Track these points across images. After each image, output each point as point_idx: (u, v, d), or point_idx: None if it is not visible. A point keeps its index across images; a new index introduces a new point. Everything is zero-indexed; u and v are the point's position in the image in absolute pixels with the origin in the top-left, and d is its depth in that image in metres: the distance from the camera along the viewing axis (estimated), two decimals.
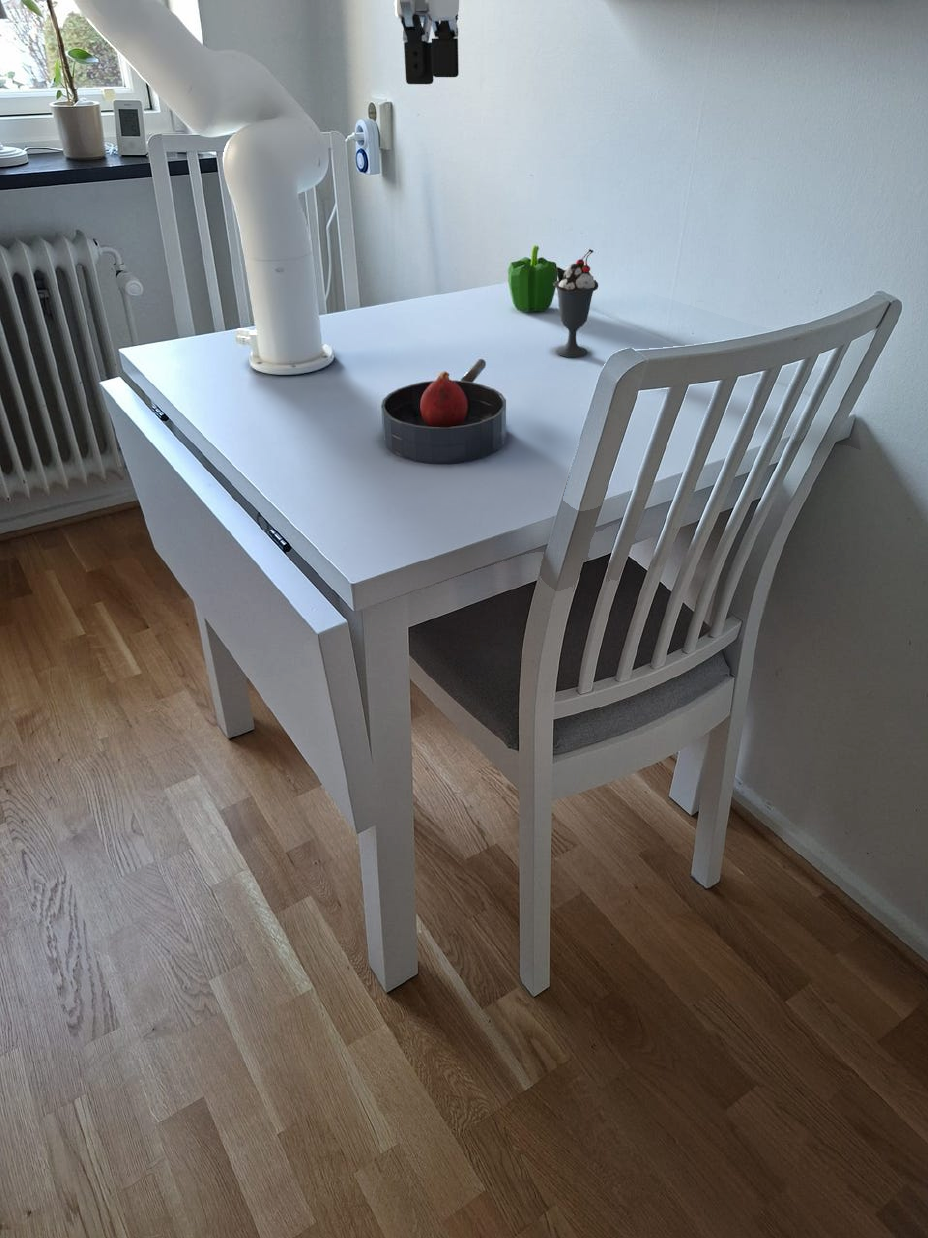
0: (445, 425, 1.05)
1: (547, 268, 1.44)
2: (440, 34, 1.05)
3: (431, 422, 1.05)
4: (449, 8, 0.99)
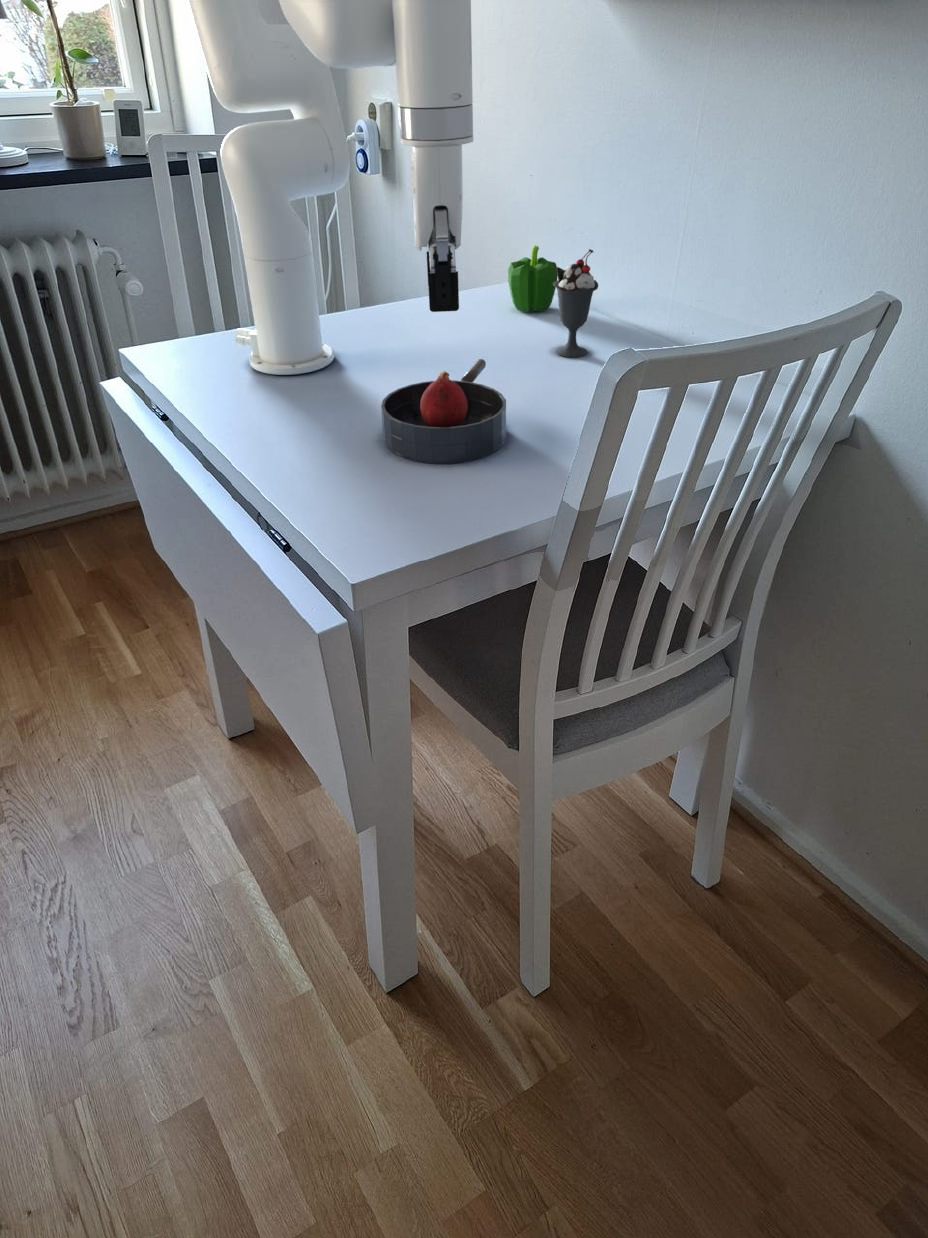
0: (445, 425, 1.05)
1: (547, 268, 1.44)
2: None
3: (431, 422, 1.05)
4: None
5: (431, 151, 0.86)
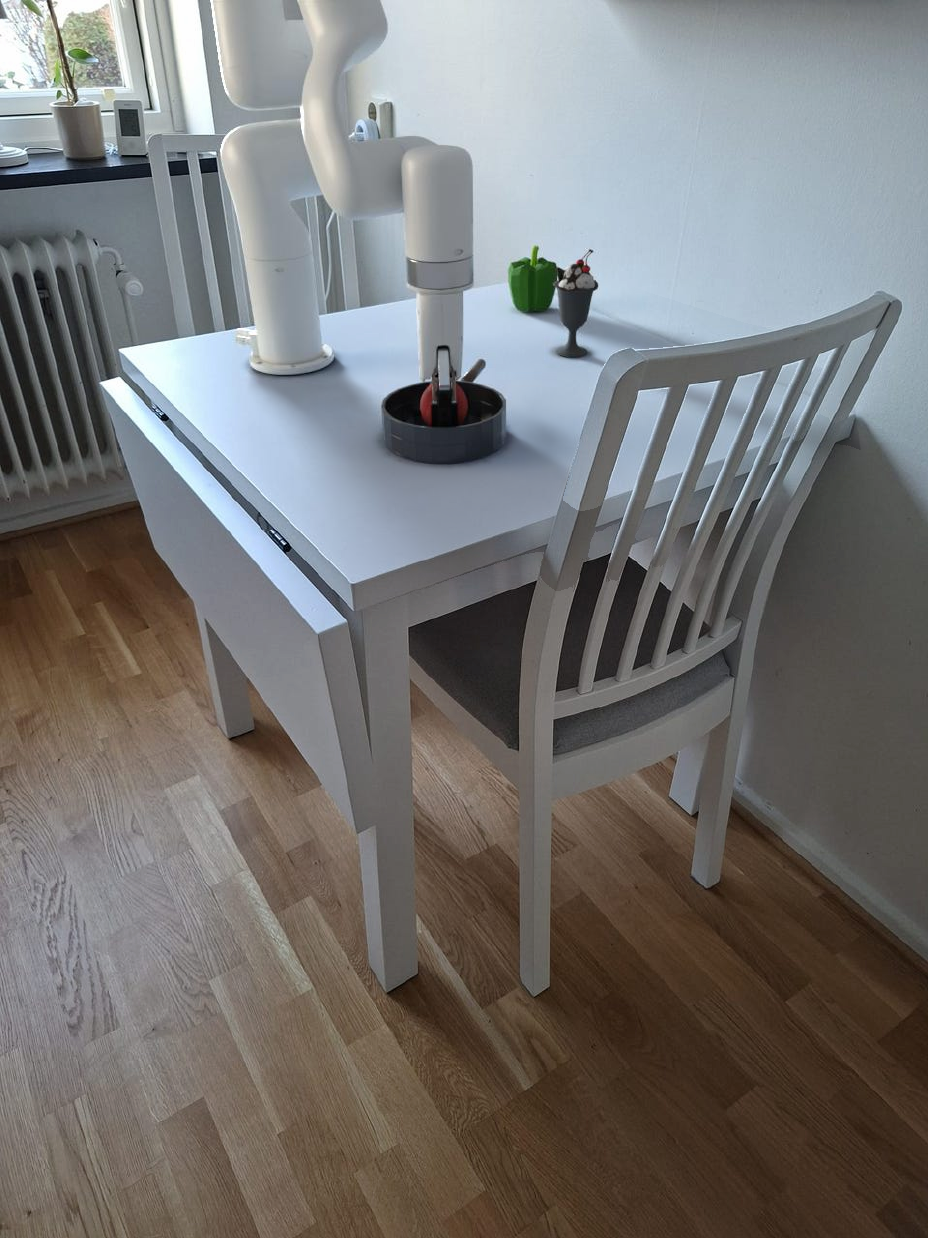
0: None
1: (547, 268, 1.44)
2: (438, 378, 1.07)
3: (431, 422, 1.05)
4: None
5: (435, 299, 0.94)
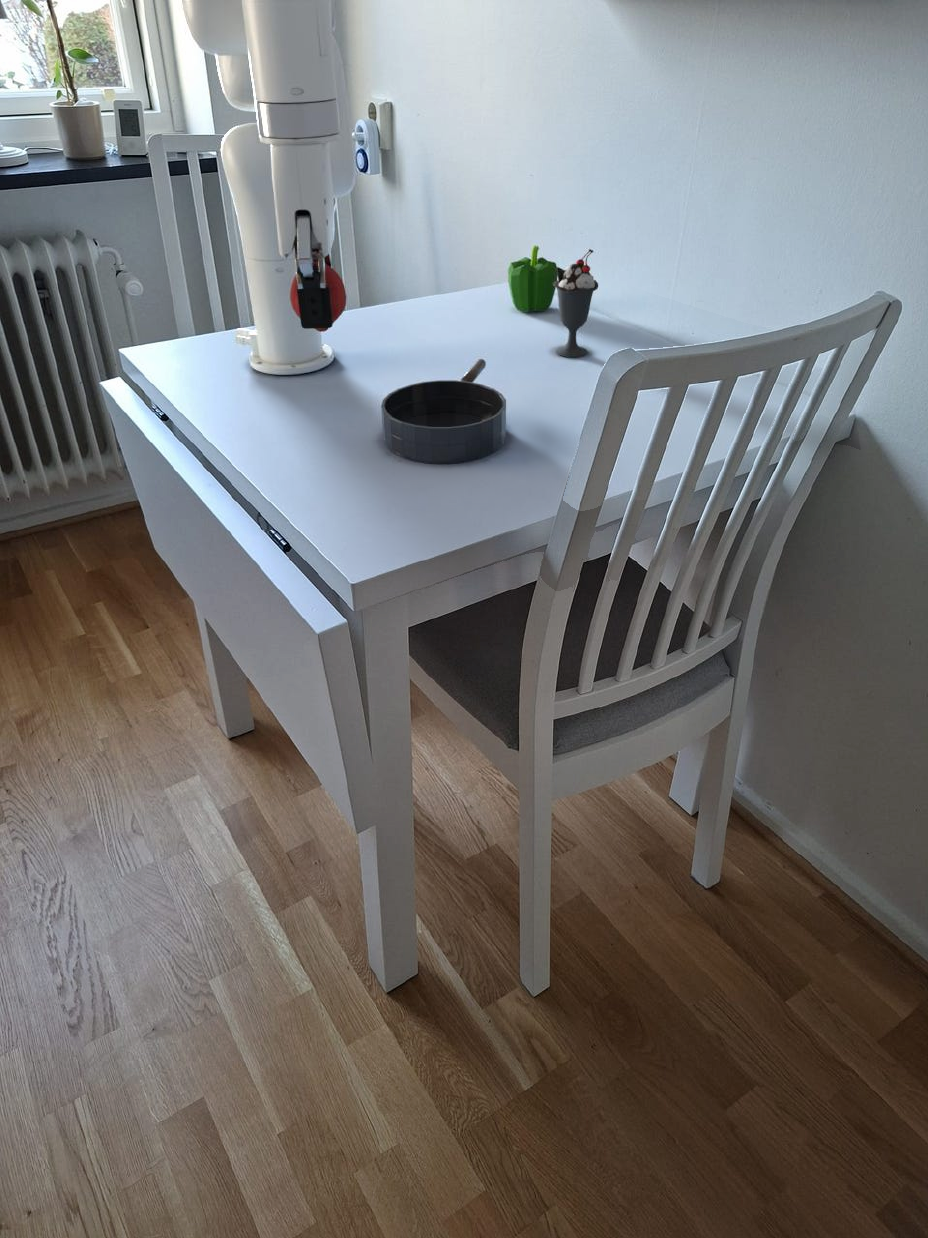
0: None
1: (547, 268, 1.44)
2: None
3: None
4: None
5: (288, 150, 0.78)
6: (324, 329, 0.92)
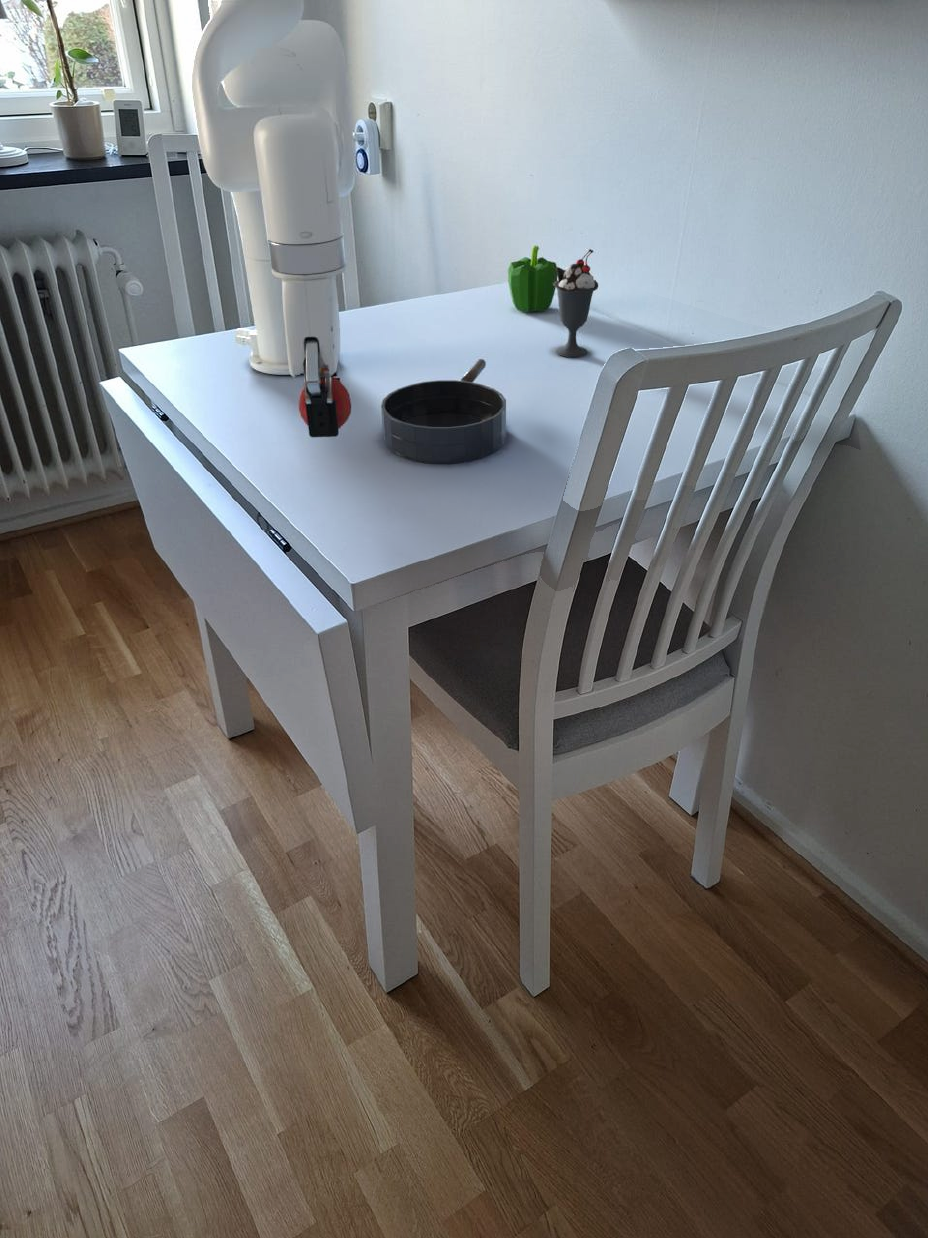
0: None
1: (547, 268, 1.44)
2: None
3: None
4: None
5: (298, 285, 0.85)
6: None
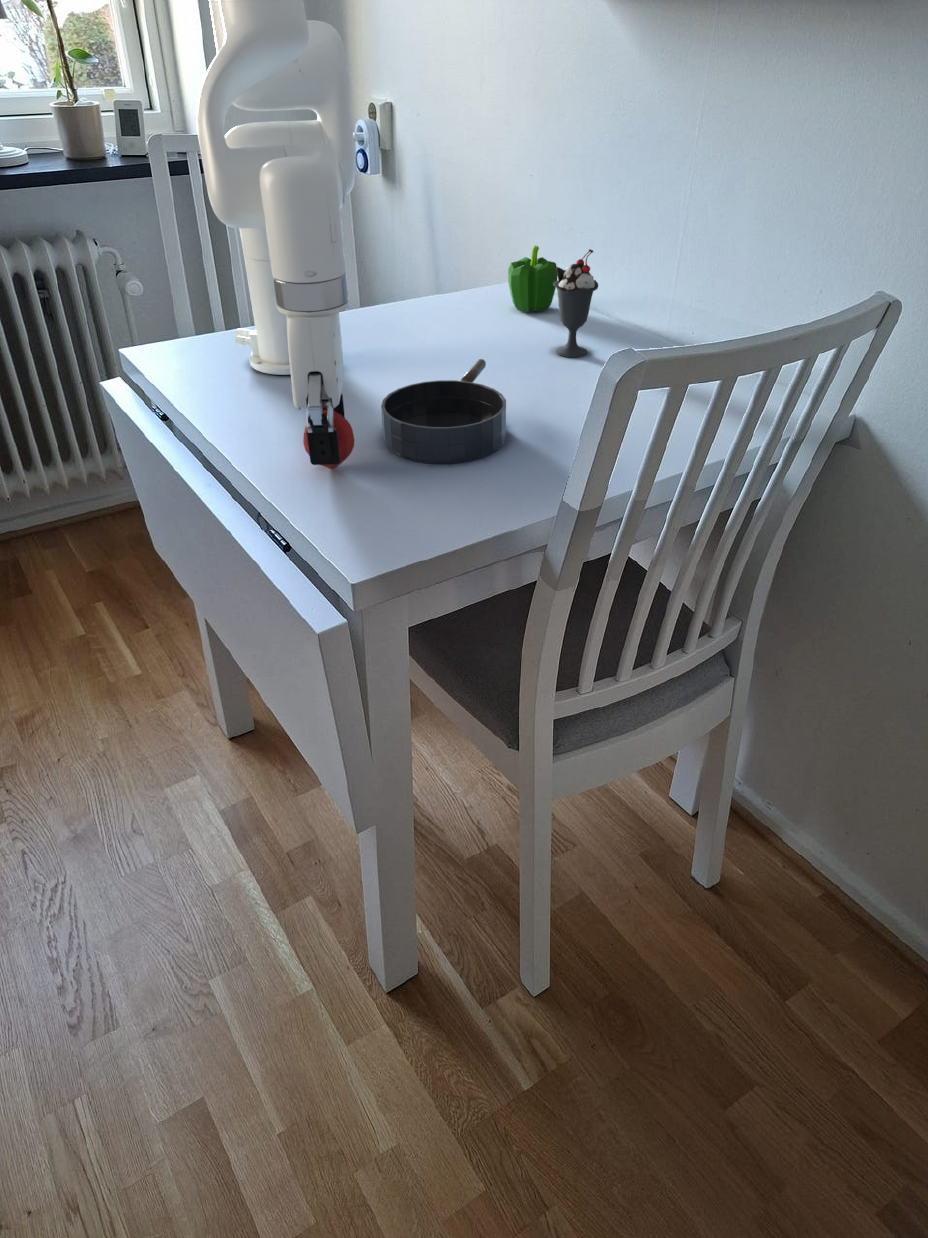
0: None
1: (547, 268, 1.44)
2: None
3: None
4: None
5: (303, 322, 0.87)
6: (334, 467, 1.01)
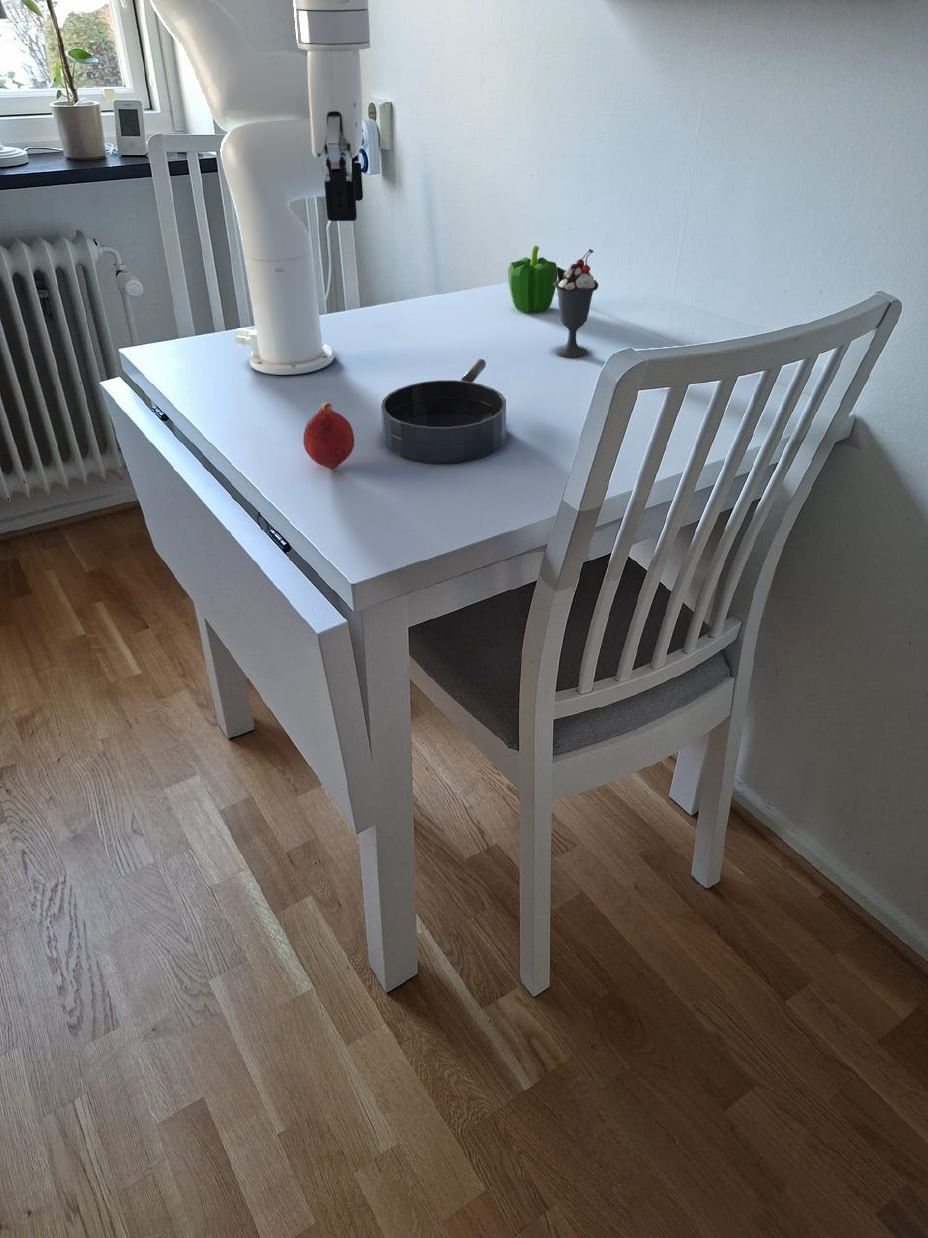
0: (328, 459, 0.98)
1: (547, 268, 1.44)
2: None
3: (314, 457, 0.98)
4: (360, 141, 0.96)
5: (323, 54, 0.87)
6: (334, 467, 1.01)
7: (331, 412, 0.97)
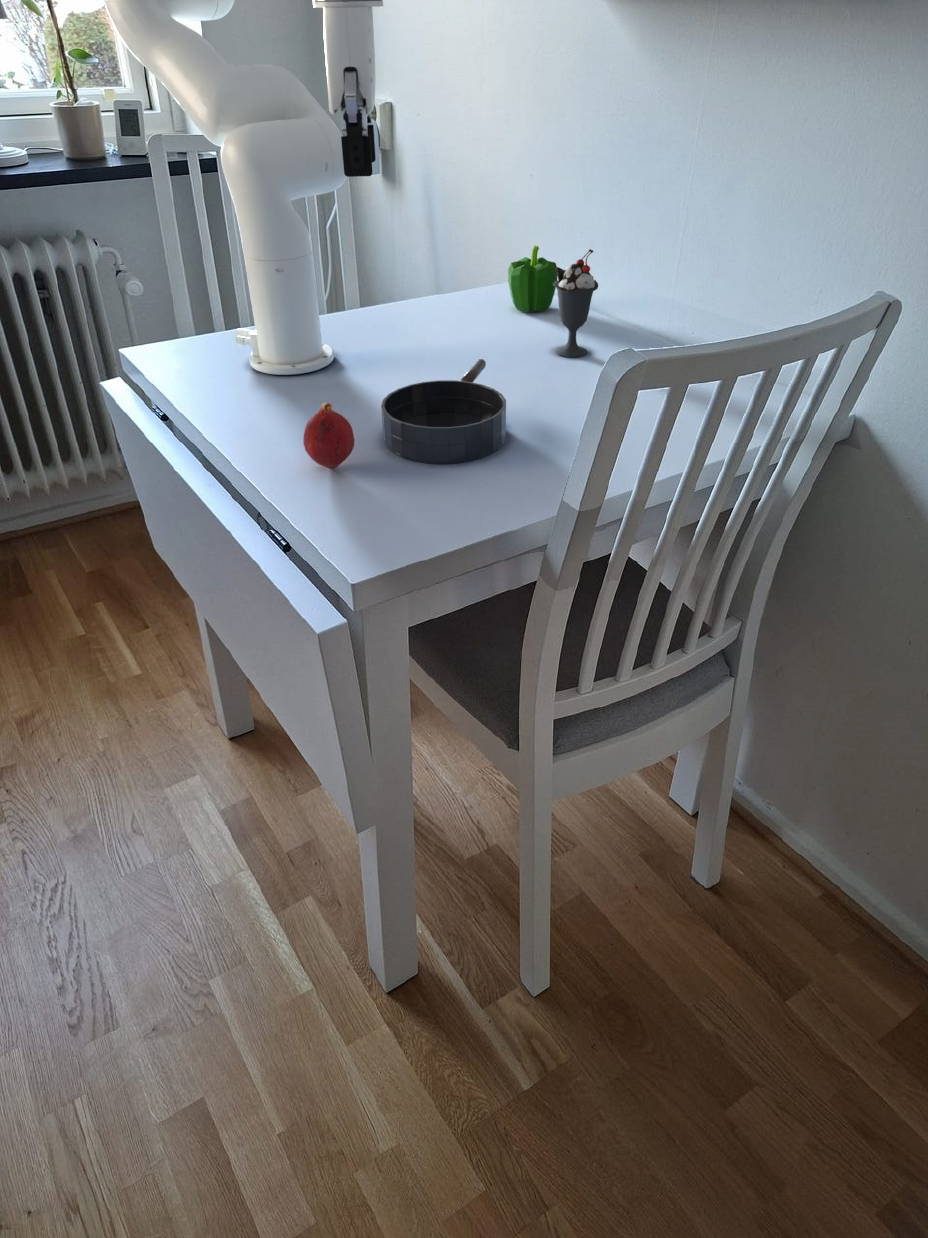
0: (328, 459, 0.98)
1: (547, 268, 1.44)
2: None
3: (314, 457, 0.98)
4: (374, 99, 0.99)
5: (339, 11, 0.90)
6: (334, 467, 1.01)
7: (331, 412, 0.97)
